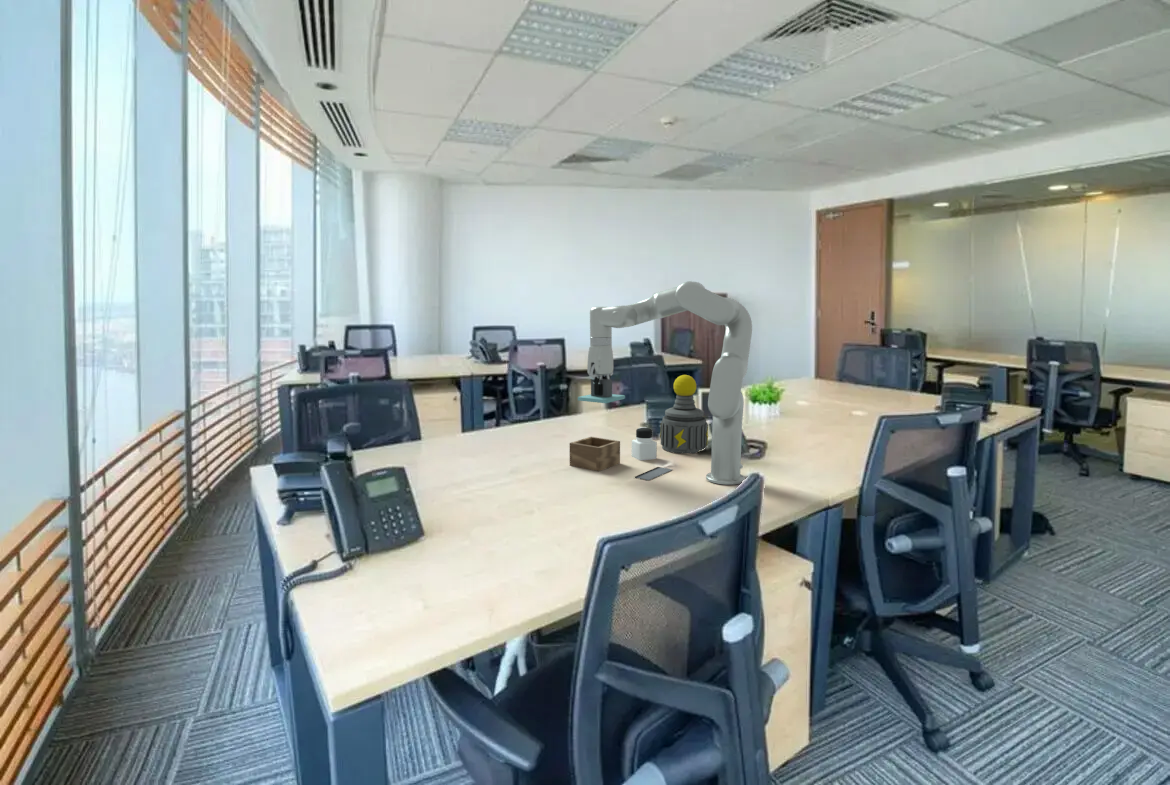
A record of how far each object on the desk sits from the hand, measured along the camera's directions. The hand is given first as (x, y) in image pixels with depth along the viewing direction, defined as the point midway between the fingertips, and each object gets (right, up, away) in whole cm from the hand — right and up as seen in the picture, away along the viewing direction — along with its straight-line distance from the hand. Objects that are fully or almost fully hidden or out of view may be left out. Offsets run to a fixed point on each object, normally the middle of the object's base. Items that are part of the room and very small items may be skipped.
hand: (601, 393), depth 219 cm
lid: (0, -2, 0) cm, 2 cm away
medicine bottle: (+16, -25, +15) cm, 33 cm away
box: (-2, -26, +5) cm, 27 cm away
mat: (+14, -27, -2) cm, 31 cm away
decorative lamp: (+34, -22, +31) cm, 51 cm away
